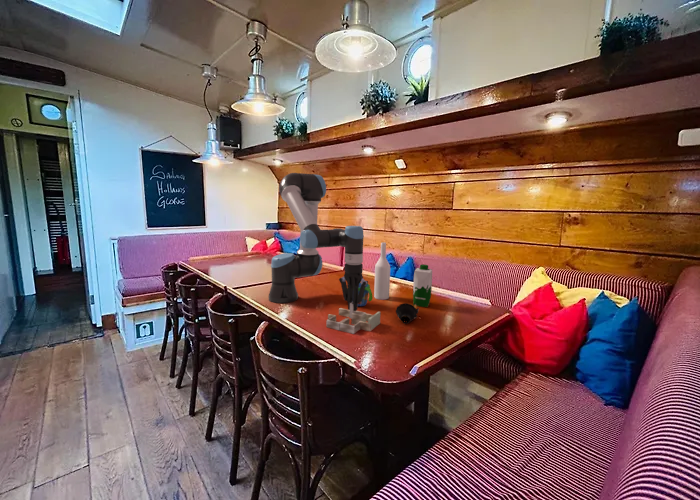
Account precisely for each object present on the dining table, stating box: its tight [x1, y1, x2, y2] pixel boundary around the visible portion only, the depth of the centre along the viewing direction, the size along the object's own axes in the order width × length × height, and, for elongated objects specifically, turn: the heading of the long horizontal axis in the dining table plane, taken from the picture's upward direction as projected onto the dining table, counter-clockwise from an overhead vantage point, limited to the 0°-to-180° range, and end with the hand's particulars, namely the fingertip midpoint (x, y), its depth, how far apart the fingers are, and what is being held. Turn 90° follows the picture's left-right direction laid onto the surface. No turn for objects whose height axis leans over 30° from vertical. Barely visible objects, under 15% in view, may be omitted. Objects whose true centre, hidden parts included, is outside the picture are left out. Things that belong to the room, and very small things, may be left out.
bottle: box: [373, 241, 391, 301], centre depth 165 cm, size 8×8×30 cm
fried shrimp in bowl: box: [395, 303, 420, 325], centre depth 137 cm, size 9×11×18 cm
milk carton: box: [412, 264, 433, 308], centre depth 155 cm, size 9×9×20 cm
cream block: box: [351, 310, 367, 325], centre depth 130 cm, size 4×4×4 cm
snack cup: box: [347, 282, 373, 307], centre depth 154 cm, size 16×10×10 cm
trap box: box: [325, 307, 381, 335], centre depth 129 cm, size 20×16×5 cm
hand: (352, 317), depth 132 cm, fingers closed
